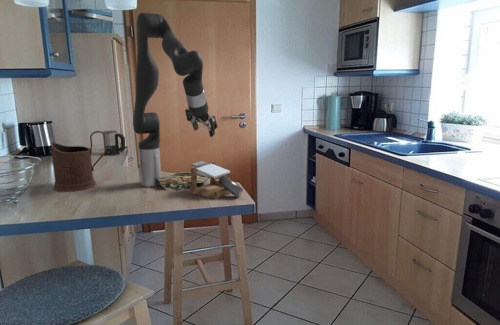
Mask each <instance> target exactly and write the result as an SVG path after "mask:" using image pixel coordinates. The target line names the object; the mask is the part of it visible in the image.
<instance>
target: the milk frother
mask: <svg viewBox="0 0 500 325" xmlns="http://www.w3.org/2000/svg"><path fill="white" fill-rule="evenodd" d="M102 132H103V133H104V134H105V141H106V153H105V154H104V155H103V156H115V155H119V154H120V152H122V151H125V150H126V149H127V148H128V145H126V136H124V134H123V133H119V132H118V131H117V130H103V131H102ZM119 139H120V145H119ZM102 140H103V142H104V136H103V135H102ZM119 146H120V147H119ZM103 148H104V149H103V150H104V152H105V146H104V145H103ZM104 152H103V153H104Z"/></svg>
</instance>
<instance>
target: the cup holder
mask: <svg viewBox="0 0 500 325" xmlns="http://www.w3.org/2000/svg"><path fill="white" fill-rule="evenodd" d="M103 132H104V131H102V130H96V131H93V132H91V134H90V135H89V140H90V141H89V143H90V148H89V147H87V146H83V145H82V146H81V145H80V146H79V145H78V146H77V145H76V146H75V145H74V146H71V145H70V146H69V145H63V144H59V143H56V142H51V143H50V149H51V151H50V152H51V157H52V164H53V165H52V166H53V174H54V180H55V181H54V186H53V188H52V190H54V191H55V192H59V193H72V192H75V193H76V192H80V191H86V190H89V189H92V188H95V186H97V182H96V180H95V178H94V175H93V172H94V171H95V169H94V167H95V166H96V165H97V164H98V162H99V161H100V160H101V159H102V158H103V157H104V156H105V155H104V154H105V153H106V141H105V134H104V133H103ZM98 133H100V134H102V137H103V136H104V141H103V147H104V146H105V152H103V153H102V154H101V155H100V156H99V158H98V159H97V160H96V161H95V163H93V162H92V156H91V154H92V153H93V152H92V149H93V139H92V138H93V135H94V134H98ZM92 163H93V165H92Z"/></svg>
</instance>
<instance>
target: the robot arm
mask: <svg viewBox="0 0 500 325" xmlns="http://www.w3.org/2000/svg"><path fill="white" fill-rule="evenodd" d="M149 38H150V39H159V38H160V39H162V42H161V47H162V49H163V52H164V53H165V54H166V56H167V57H168V58H169V59H170V61H171V63H172V67H173V70H174V72H175V74H177V75H178V76H181V77H184V76H185V77H184V78H183V80H182V85H183V89H184V92H185V93H184V94H185V100H186V104H187V108H186V109H185V111H184V112H185V118H186V120H187V122H190V123H191V125H192V128H193V130H194V131H197V130H199V128H200V127H199V124H198V123H201V124H202V125H203V126H204V127H205V128H206V129H207V130H208V133H209V137H210V138H213V137H214V136H215V134H216V131H215V130H217V129H218V123H217V119H216V116H215V115H212V116H211V115H210V114H209V105H208V100H207V96H206V92H205V90H204V85H203V70H204V61H203V57H202V55H201V54H200V52H198V51H197V50H190V51H188V48H187V47H186V46H185V45H184V44H183V42H181V40H180V39H178V37H177V36H176V35H175V33H174V31H173V29H172V27H171V26H170V24H169V22H168V21H167V19H166V18H165V17H164V16H163V15H162V14H158V13H150V12H140V13H139V14H138V15H137V18H136V46H137V50H136V52H137V53H136V55H137V57H136V60H137V61H136V70H135V71H136V72H135V73H136V74H135V102H134V108H133V109H134V110H133V118H132V125H133V126H132V127H133V130H134V132H135V133H136V134H138V135H143V134H148V136H146V138H144V139H142V140H140V141H139V142H138V157H139V164H138V174H139V175H138V177H139V185H141V186H142V187H146V188H149V187H151V186H152V187H158V186H160V185H161V184H160V182H159V180H158V178H160V177H162V168H161V165H162V164H161V150H160V141H161V136H160V135H161V133H160V131H161V130H160V128H161V127H160V126H161V125H160V118H159V115H158V114H157V113H156V112H153V111H152V112H145V111H146V107H147V105H148V103H149V102H150V99H151V98H152V97H153V96H154V94H155V92H156V91H157V89H158V86H159V78H160V70H159V67H158V65H157V63H156V61H155V60H154V59H155V58H153V56H152V54H151V52H150V49H149V42H148V40H149ZM206 122H207V123H206ZM157 185H158V186H157ZM152 187H151V188H152Z"/></svg>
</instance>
